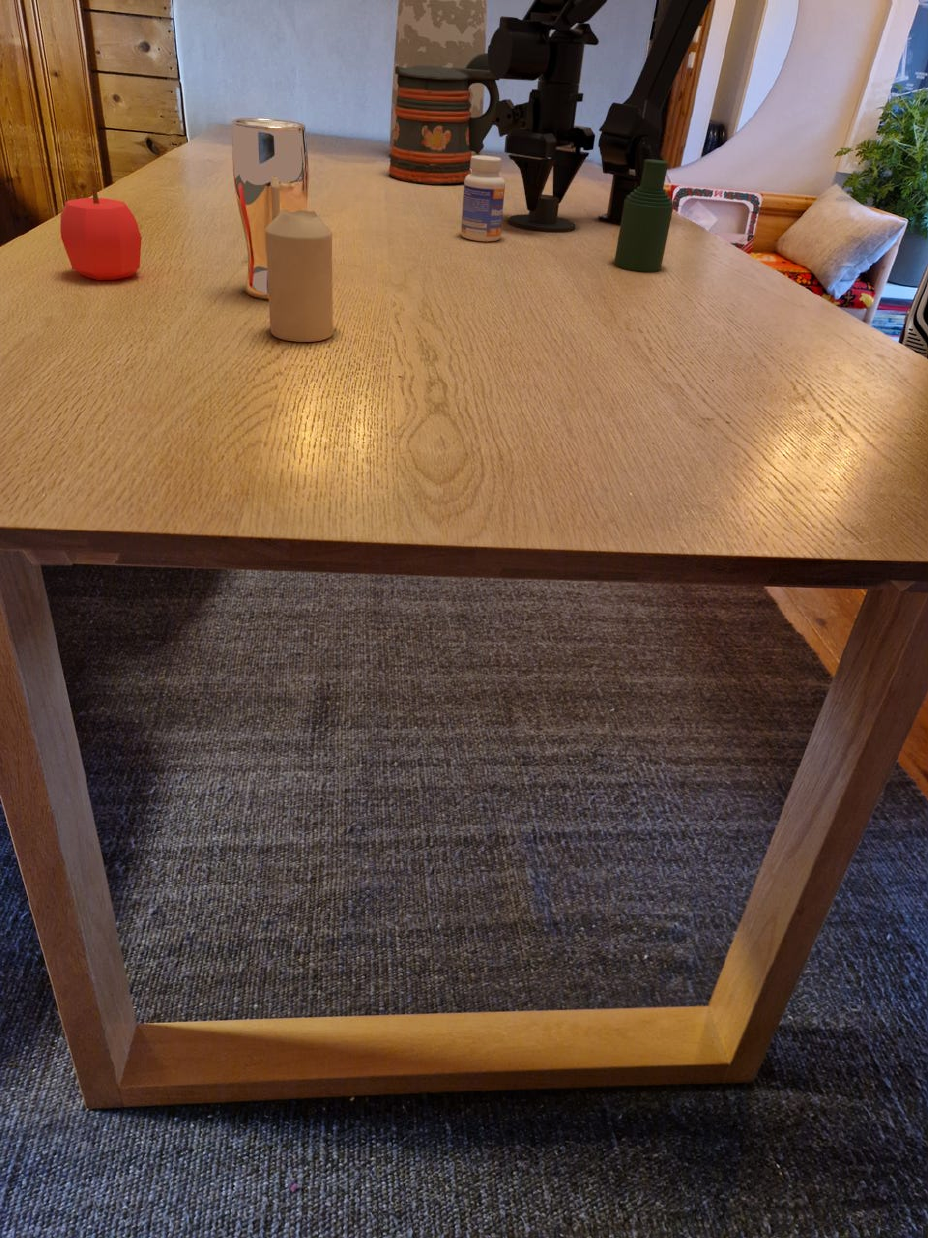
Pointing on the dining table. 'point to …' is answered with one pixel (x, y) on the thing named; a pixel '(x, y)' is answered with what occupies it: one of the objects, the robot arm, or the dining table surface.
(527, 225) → the coaster
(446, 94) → the beer stein
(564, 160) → the robot arm
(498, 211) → the pill bottle
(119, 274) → the apple
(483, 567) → the dining table surface
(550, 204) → the cap
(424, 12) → the vase
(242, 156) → the beer glass
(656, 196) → the bottle
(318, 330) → the candle
